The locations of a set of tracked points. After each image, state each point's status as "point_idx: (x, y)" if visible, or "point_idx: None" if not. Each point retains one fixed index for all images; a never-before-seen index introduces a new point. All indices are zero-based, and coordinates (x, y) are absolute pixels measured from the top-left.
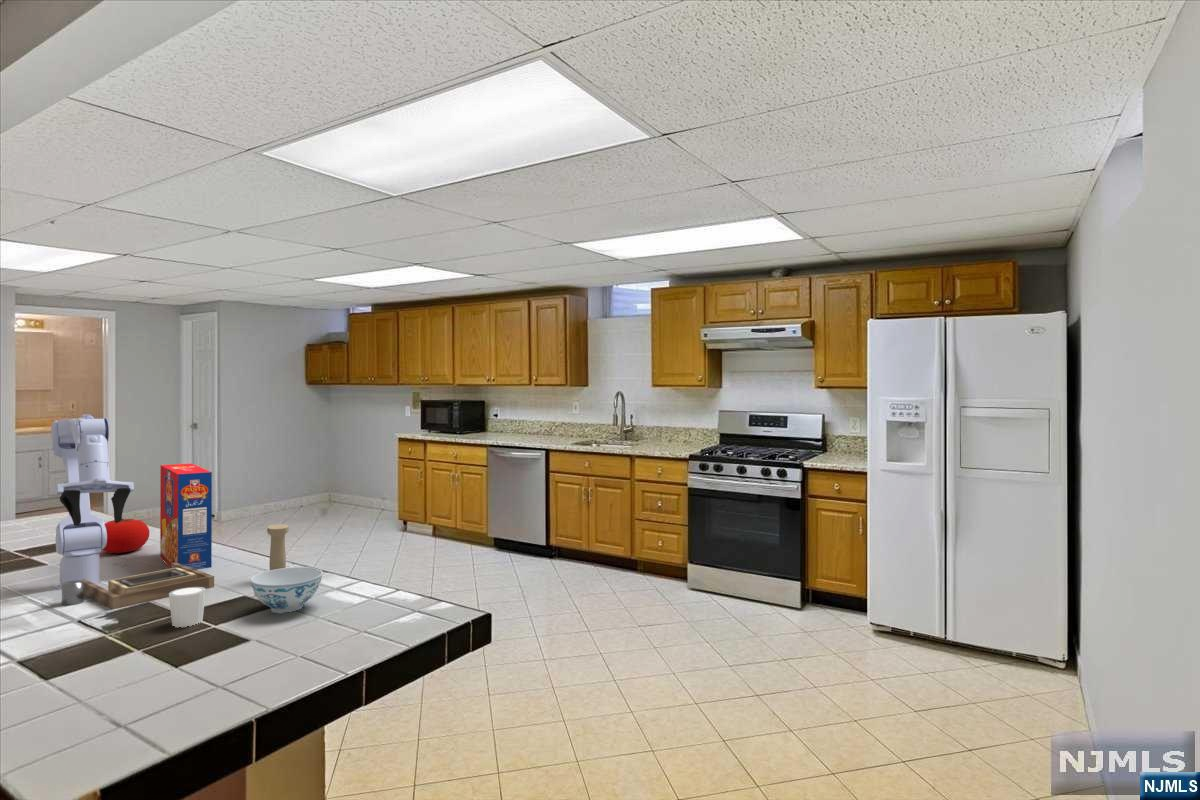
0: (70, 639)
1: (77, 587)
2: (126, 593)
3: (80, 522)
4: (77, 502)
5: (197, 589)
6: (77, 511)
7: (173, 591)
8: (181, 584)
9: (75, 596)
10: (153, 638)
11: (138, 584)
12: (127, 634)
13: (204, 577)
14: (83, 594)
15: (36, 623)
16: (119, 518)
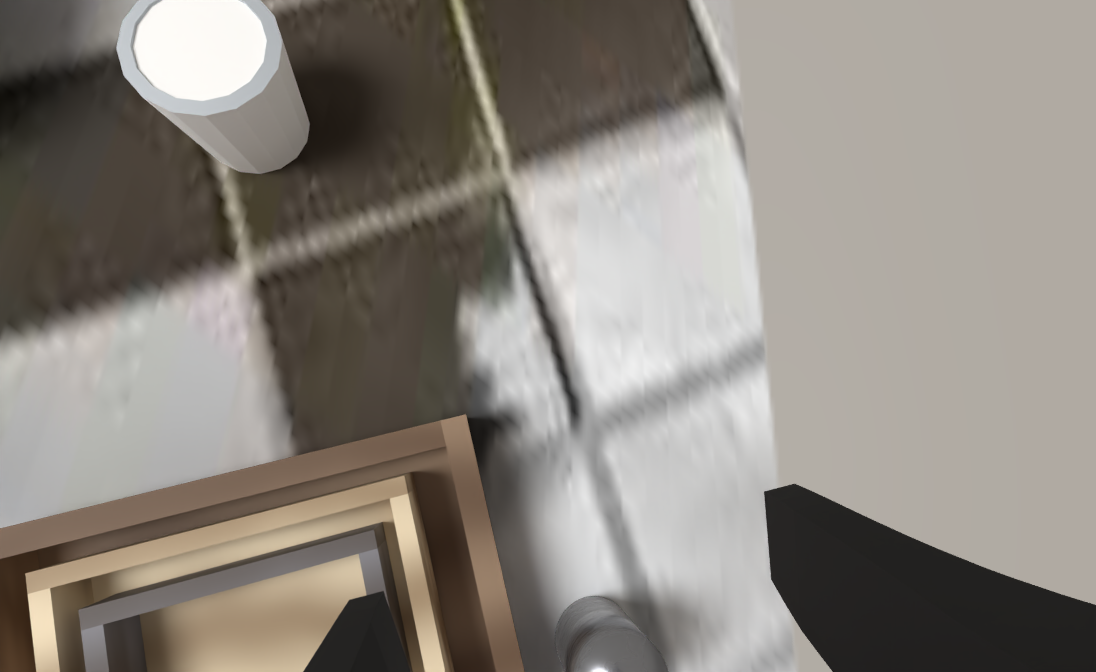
0: (604, 205)
1: (600, 631)
2: (409, 446)
3: (766, 496)
4: (1013, 628)
5: (153, 48)
6: (886, 536)
7: (254, 75)
8: (149, 492)
9: (598, 615)
10: (387, 39)
11: (341, 537)
12: (450, 136)
13: (3, 544)
14: (566, 644)
15: (704, 485)
16: (365, 599)
